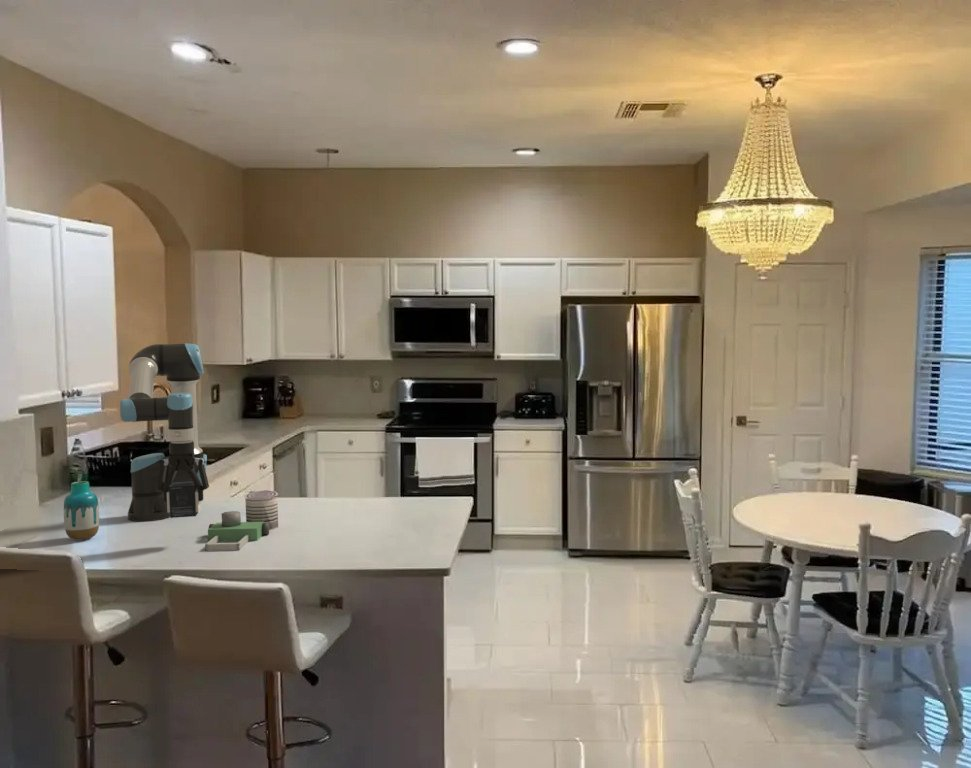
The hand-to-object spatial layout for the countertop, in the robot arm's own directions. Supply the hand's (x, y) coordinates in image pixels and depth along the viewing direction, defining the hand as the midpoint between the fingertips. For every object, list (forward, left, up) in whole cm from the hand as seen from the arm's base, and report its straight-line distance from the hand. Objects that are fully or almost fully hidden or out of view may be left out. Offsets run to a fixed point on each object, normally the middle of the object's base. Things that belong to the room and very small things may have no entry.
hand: (184, 511), depth 270 cm
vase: (-38, +11, -11) cm, 41 cm away
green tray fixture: (+14, +3, -11) cm, 18 cm away
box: (0, 0, -2) cm, 2 cm away
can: (+19, +22, -11) cm, 32 cm away
